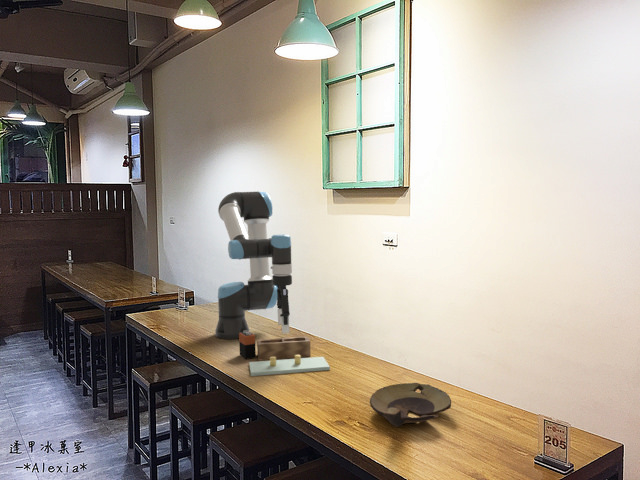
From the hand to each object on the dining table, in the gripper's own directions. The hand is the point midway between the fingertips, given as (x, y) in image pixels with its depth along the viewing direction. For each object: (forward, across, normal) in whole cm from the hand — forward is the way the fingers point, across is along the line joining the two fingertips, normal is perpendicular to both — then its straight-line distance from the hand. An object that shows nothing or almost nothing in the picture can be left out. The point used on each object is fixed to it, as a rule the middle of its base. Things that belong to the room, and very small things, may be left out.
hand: (283, 328), depth 207 cm
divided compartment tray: (+11, -1, 0) cm, 11 cm away
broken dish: (+12, +64, +26) cm, 70 cm away
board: (+11, +14, 0) cm, 18 cm away
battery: (+11, -3, -14) cm, 18 cm away
